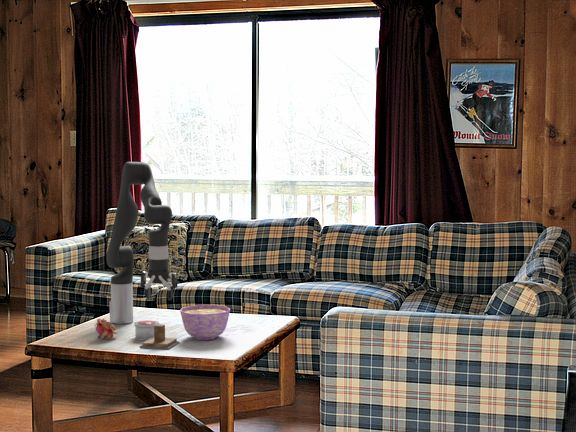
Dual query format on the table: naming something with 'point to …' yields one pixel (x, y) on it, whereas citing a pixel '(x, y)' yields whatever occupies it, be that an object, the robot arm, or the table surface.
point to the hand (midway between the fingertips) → (159, 299)
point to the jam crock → (145, 329)
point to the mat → (161, 347)
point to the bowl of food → (205, 320)
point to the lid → (159, 338)
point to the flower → (105, 329)
